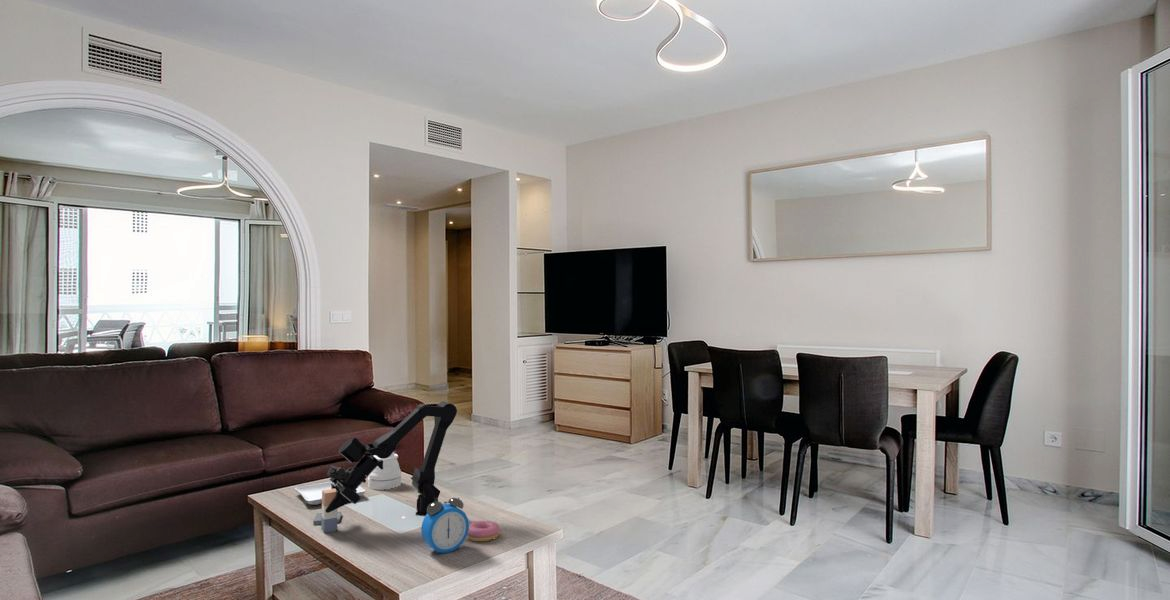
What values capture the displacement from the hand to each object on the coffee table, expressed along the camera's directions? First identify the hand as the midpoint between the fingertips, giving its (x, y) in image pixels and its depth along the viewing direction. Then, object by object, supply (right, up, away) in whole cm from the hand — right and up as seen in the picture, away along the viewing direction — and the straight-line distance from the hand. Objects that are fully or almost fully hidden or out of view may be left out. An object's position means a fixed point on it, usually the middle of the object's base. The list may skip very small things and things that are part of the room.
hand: (325, 510), depth 202 cm
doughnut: (+52, -8, -3) cm, 52 cm away
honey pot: (+3, -8, +52) cm, 52 cm away
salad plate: (-13, -7, +35) cm, 39 cm away
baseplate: (-3, -7, +10) cm, 12 cm away
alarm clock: (+42, -7, -15) cm, 45 cm away
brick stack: (+1, -7, +1) cm, 7 cm away
